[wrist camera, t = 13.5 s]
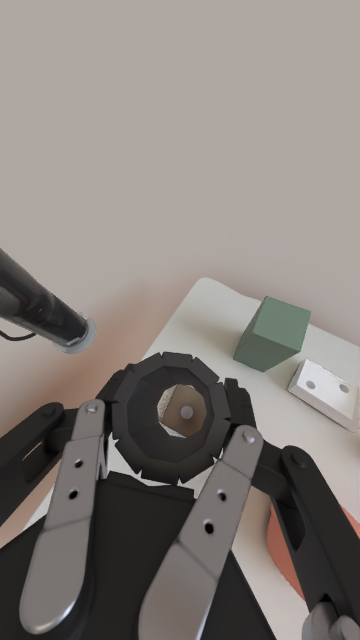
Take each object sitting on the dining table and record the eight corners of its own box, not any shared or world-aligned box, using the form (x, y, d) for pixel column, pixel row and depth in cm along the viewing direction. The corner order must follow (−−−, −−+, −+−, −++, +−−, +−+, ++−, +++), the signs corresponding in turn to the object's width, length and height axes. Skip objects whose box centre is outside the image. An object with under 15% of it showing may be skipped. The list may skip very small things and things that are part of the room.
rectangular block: (233, 359, 47) (252, 332, 30) (243, 333, 49) (266, 295, 33) (263, 372, 45) (300, 351, 29) (272, 345, 47) (311, 311, 31)
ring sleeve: (135, 427, 17) (87, 442, 9) (167, 364, 18) (148, 334, 11) (198, 465, 15) (198, 516, 8) (225, 391, 17) (246, 379, 10)
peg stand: (161, 422, 43) (150, 425, 33) (179, 382, 46) (174, 375, 36) (199, 444, 41) (200, 454, 31) (216, 400, 44) (221, 398, 34)
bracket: (357, 401, 42) (391, 391, 36) (352, 432, 39) (388, 426, 32) (297, 365, 46) (318, 349, 40) (287, 389, 42) (308, 377, 36)
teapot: (352, 639, 29) (446, 780, 18) (235, 518, 36) (252, 568, 25) (387, 546, 33) (483, 617, 22) (275, 451, 39) (305, 468, 28)
